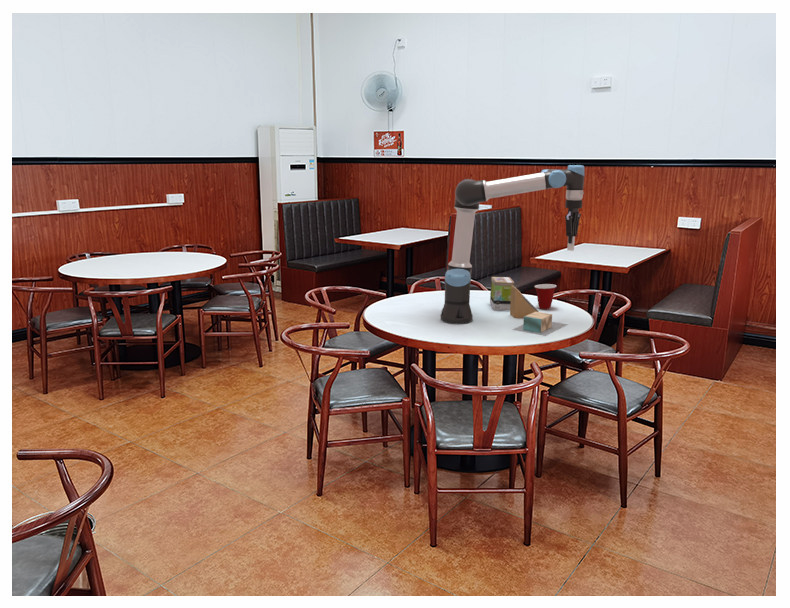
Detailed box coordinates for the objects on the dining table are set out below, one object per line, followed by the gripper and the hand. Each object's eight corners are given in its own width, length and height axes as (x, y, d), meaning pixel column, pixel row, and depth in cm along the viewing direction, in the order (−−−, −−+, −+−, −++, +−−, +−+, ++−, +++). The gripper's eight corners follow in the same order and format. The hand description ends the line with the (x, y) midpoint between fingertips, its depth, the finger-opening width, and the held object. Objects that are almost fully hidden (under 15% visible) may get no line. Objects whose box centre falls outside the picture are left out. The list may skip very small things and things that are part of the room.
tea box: (513, 311, 310) (514, 282, 307) (493, 310, 310) (494, 281, 307) (508, 304, 325) (510, 276, 321) (489, 303, 325) (490, 276, 321)
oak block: (551, 327, 279) (539, 332, 270) (535, 324, 284) (523, 329, 275) (552, 314, 278) (540, 319, 268) (535, 311, 282) (523, 316, 273)
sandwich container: (545, 318, 296) (547, 288, 292) (514, 319, 295) (515, 288, 291) (540, 314, 304) (542, 284, 301) (509, 314, 303) (511, 284, 300)
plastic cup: (536, 304, 323) (537, 282, 320) (557, 307, 318) (558, 284, 316) (530, 309, 313) (532, 286, 311) (552, 311, 309) (554, 288, 306)
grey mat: (545, 336, 265) (545, 335, 265) (511, 330, 275) (511, 329, 275) (568, 325, 284) (568, 324, 284) (535, 319, 293) (535, 318, 293)
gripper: (576, 200, 278) (572, 252, 284) (587, 199, 288) (583, 249, 294) (560, 199, 283) (557, 251, 288) (571, 198, 293) (568, 247, 298)
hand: (570, 250), depth 291 cm, fingers closed
